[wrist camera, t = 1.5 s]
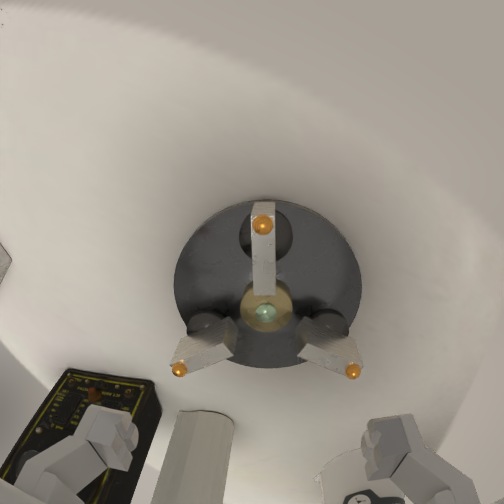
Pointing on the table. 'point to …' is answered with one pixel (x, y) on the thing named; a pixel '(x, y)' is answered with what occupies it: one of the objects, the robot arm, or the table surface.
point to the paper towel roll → (196, 460)
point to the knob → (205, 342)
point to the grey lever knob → (265, 244)
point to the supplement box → (3, 262)
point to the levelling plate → (298, 268)
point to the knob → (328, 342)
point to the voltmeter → (68, 418)
